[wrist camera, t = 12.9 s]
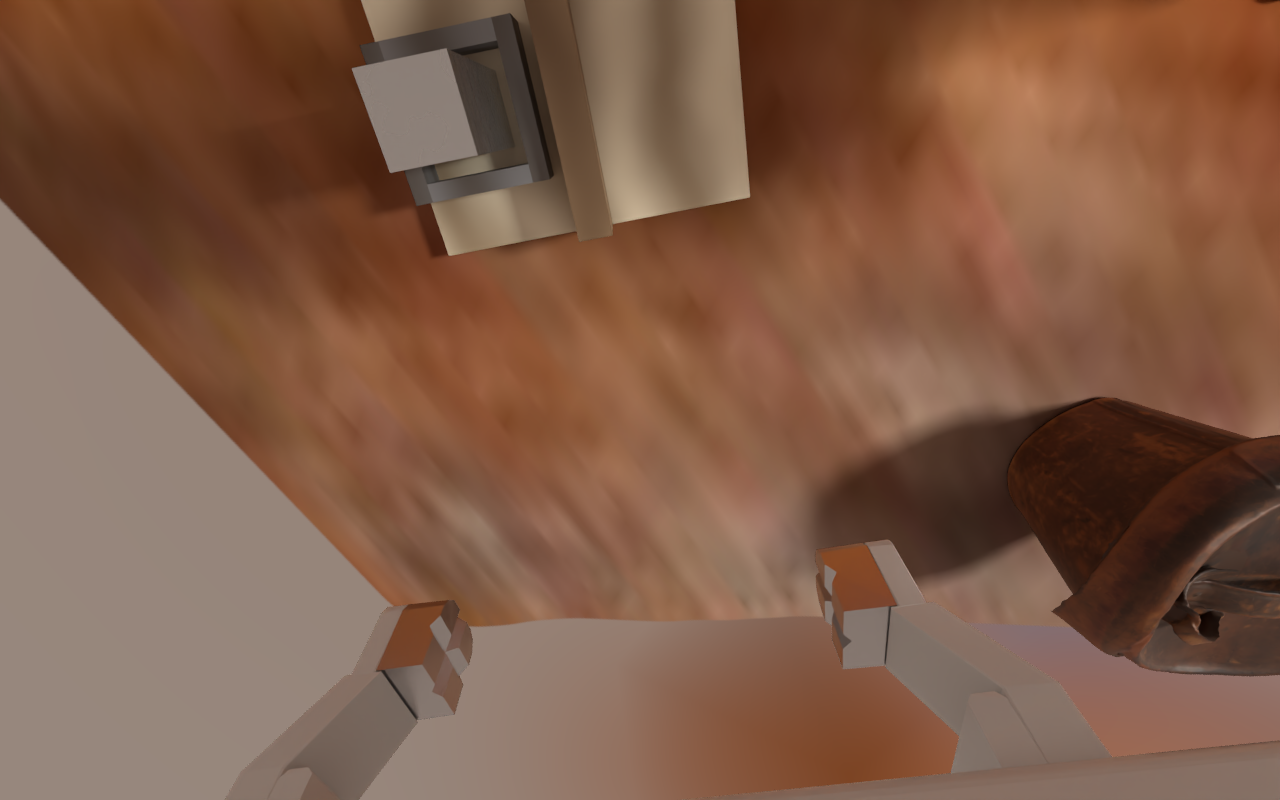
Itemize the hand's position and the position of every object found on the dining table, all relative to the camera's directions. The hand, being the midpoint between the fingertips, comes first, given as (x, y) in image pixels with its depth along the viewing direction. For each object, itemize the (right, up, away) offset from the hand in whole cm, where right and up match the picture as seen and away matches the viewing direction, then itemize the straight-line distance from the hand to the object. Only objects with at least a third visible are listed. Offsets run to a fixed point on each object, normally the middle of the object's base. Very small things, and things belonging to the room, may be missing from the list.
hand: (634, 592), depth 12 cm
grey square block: (-10, +21, +19) cm, 30 cm away
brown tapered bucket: (+39, -1, +35) cm, 52 cm away
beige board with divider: (-4, +23, +21) cm, 31 cm away
